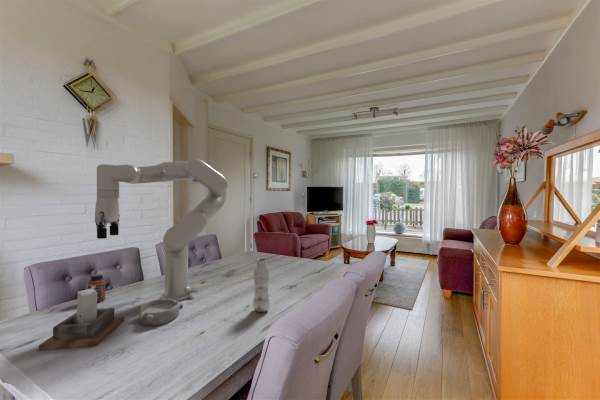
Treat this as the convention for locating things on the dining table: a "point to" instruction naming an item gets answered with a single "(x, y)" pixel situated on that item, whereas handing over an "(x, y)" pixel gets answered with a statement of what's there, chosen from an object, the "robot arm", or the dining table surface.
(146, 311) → the dish
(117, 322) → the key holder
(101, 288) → the supplement bottle
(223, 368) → the dining table surface
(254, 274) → the plastic bottle
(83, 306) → the skincare box
